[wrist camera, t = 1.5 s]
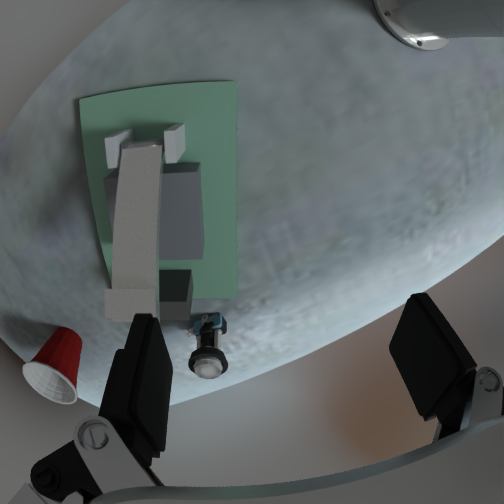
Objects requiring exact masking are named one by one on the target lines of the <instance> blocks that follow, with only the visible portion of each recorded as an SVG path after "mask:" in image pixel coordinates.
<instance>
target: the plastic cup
mask: <svg viewBox="0 0 504 504" xmlns="http://www.w3.org/2000/svg"><path fill="white" fill-rule="evenodd" d="M81 349H82V340H81V338H80V337H79V335H78V334H77V333H75V332H74V331H73V330H71V329H69V328H65V327H61V328H59V329H57V330H56V331H55V332H54V334H53V335H52V336H51V337H50V339H49V340H48V341H47V342H46V343H45V344H44V346H43V347H42V348H41V349H40V351H39V352H38V353H37V355H36V356H35V357H34V358H33V359H32V360H31V361H30V362H27V363H26V364H25V365H24V366H23V374H24V376H25V378H26V380H27V382H28V383H29V384H30V385H31V386H32V387H33V388H34V389H35V390H36V391H37V392H38V393H40V394H41V395H42V396H44V397H46V398H48V399H50V400H52V401H54V402H58V403H61V404H72V403H74V402H76V399H77V396H78V394H77V391H76V387H77V386H76V384H77V374H78V368H79V362H80V354H81Z"/></svg>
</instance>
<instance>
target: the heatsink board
mask: <svg viewBox="0 0 504 504" xmlns="http://www.w3.org/2000/svg"><path fill="white" fill-rule="evenodd" d="M79 104H80V119H81V130H82V140H83V149H84V157H85V164H86V171H87V178H88V184H89V190H90V195H91V201H92V206H93V211H94V216H95V221H96V225H97V230H98V234H99V239H100V243H101V247H102V251H103V255H104V259H105V262H106V266H107V270H108V273H109V277H110V280H111V284H112V252H113V232H114V217H115V205H116V195H117V186H118V178H119V170H120V163H121V156H122V154H121V144H122V143H125V142H134V141H143V140H154V139H164V143H165V151H164V162H163V175H162V189H161V207H160V232H159V308H160V321H190V312H191V304H192V299H221V298H238V279H237V81H221V82H196V83H182V84H170V85H160V86H152V87H144V88H136V89H130V90H123V91H117V92H112V93H106V94H101V95H96V96H92V97H87V98H83V99H79Z"/></svg>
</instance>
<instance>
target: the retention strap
mask: <svg viewBox="0 0 504 504" xmlns="http://www.w3.org/2000/svg"><path fill="white" fill-rule="evenodd" d="M164 151H165V143H164V139H154V140H143V141H134V142H125V143H122V144H121V154H122V156H121V163H120V170H119V178H118V186H117V195H116V205H115V217H114V232H113V252H112V289H105V319H113V322H132V321H133V318H134V315H135V314H136V313H151V314H152V315H153V317H157V318H158V320H159V322H160V308H159V232H160V207H161V189H162V175H163V162H164Z"/></svg>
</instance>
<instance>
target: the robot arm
mask: <svg viewBox="0 0 504 504" xmlns="http://www.w3.org/2000/svg"><path fill="white" fill-rule="evenodd" d="M373 1H374V5H375V8H376V10H377V13H378V15H379V16H380V18H381V20H382V22H383V23H384V24H385V26H386V27H387V28H388V29H389V31H390V32H391V33H392V34H393V35H394V36H395V37H397V38H398V39H399V40H400V41H402V42H403V43H405V44H407V45H408V46H410V47H412V48H415V49H418V50H423V51H433V50H438V49H441V48H443V47H444V46H445V45H446V44H447V43H448V42H449V41H450V39H451V38H460V37H504V0H373ZM389 351H390V353H391V355H392V357H393V359H394V361H395V363H396V366H397V368H398V370H399V372H400V374H401V376H402V378H403V380H404V382H405V384H406V386H407V388H408V391H409V393H410V395H411V397H412V400H413V402H414V404H415V406H416V409H417V411H418V413H419V415H420V416H423V418H424V421H428V420H431V419H433V418H435V417H436V416H437V418H438V420H439V421H438V425H437V428H436V431H435V435H434V438H433V441H432V443H431V444H429V445H426V446H424V447H421V448H419V449H416V450H413V451H411V452H408V453H405V454H403V455H399V456H397V457H394V458H391V459H387V460H384V461H381V462H378V463H375V464H371V465H367V466H364V467H360V468H357V469H352V470H348V471H344V472H340V473H335V474H331V475H326V476H321V477H315V478H309V479H304V480H297V481H290V482H283V483H274V484H265V485H250V486H232V487H231V486H230V487H175V486H173V487H172V486H164V484H163V483H162V482H161V481H160V479H159V478H158V477H157V476H156V475H155V473H154V472H153V471H152V470H151V468H150V466H151V463H152V457H154V458H160V451H161V452H164V450H165V445H166V433H167V422H168V411H169V402H170V392H171V384H172V375H173V366H172V362H171V359H170V356H169V353H168V350H167V347H166V344H165V340H164V337H163V334H162V331H161V327H160V324H159V320H158V318H157V317H153V315H152V314H151V313H136V314H135V315H134V318H133V321H132V324H131V328H130V331H129V334H128V337H127V341H126V344H125V348H124V349H118V350H117V351H116V353H115V356H114V359H113V362H112V366H111V369H110V373H109V376H108V380H107V384H106V387H105V391H104V395H103V399H102V403H101V406H100V411H99V415H98V416H89V417H86V418H84V419H82V420H81V421H80V422H79V423H78V424H77V426H76V427H75V430H74V435H73V439H74V440H72V441H71V442H69V443H67V444H66V445H64V446H63V447H61V448H59V449H58V450H56V451H55V452H53V453H51V454H50V455H48V456H46V457H45V458H43V459H41V460H39V461H38V462H37V463H36V464H34V466H33V467H32V469H31V474H30V476H31V482H30V483H29V484H28V483H25V484H24V485H23V486H22V487H21V489H20V490H19V491H18V492H17V494H16V495H15V496H14V497H13V498H12V500H11V501H10V502H9V503H8V504H504V387H503V381H502V378H501V376H500V375H499V373H498V372H497V371H496V370H494V369H493V368H490V367H482V368H480V369H479V370H478V371H476V370H475V368H476V367H477V364H476V363H475V361H474V359H473V358H472V356H471V355H470V353H469V352H468V350H467V349H466V347H465V346H464V344H463V343H462V341H461V340H460V338H459V337H458V335H457V334H456V332H455V331H454V330H453V328H452V327H451V326H450V324H449V322H448V321H447V320H446V318H445V317H444V315H443V314H442V313H441V312H440V310H439V309H438V308H437V306H436V305H435V303H434V302H433V301H432V299H431V298H430V297H429V295H428V294H427V293H424V292H423V293H416V294H412V295H411V296H410V298H409V299H408V300H407V302H406V305H405V308H404V310H403V313H402V316H401V318H400V320H399V323H398V325H397V328H396V330H395V333H394V335H393V338H392V340H391V342H390V345H389Z"/></svg>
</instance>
